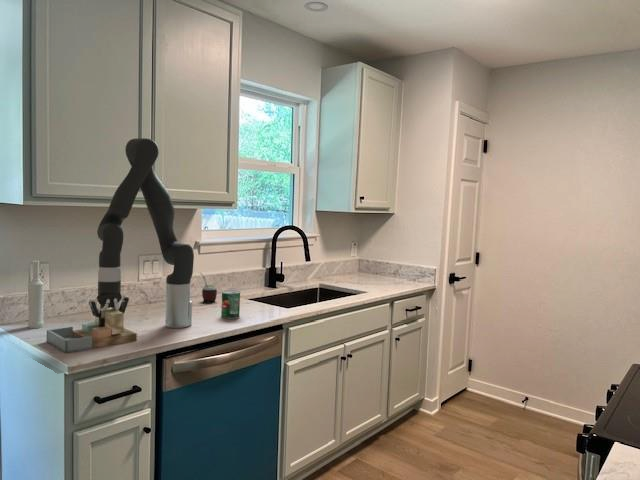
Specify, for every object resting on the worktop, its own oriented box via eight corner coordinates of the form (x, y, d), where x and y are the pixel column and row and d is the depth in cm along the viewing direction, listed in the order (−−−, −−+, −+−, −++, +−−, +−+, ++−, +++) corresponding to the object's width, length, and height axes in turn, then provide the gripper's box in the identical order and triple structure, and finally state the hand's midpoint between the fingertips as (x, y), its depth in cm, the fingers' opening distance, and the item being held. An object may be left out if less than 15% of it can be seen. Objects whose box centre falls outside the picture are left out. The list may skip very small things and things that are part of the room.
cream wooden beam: (105, 325, 183) (106, 306, 182) (123, 332, 173) (123, 313, 173) (94, 326, 180) (95, 307, 179) (112, 334, 170) (112, 314, 170)
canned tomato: (217, 317, 215) (218, 292, 214) (228, 313, 222) (229, 289, 221) (232, 319, 212) (232, 294, 211) (243, 316, 219) (243, 291, 218)
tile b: (105, 333, 173) (105, 326, 173) (111, 336, 170) (111, 329, 170) (92, 335, 170) (92, 328, 170) (97, 338, 167) (98, 331, 167)
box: (71, 337, 175) (71, 326, 175) (92, 348, 164) (92, 336, 164) (46, 341, 169) (46, 330, 169) (65, 353, 158) (65, 341, 158)
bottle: (46, 325, 190) (46, 260, 188) (39, 328, 185) (39, 262, 183) (32, 324, 190) (32, 260, 188) (25, 328, 185) (25, 261, 183)
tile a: (94, 328, 179) (95, 321, 179) (100, 331, 176) (100, 324, 176) (82, 330, 176) (82, 323, 176) (87, 333, 173) (87, 326, 173)
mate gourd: (218, 301, 249) (218, 271, 248) (214, 304, 241) (214, 273, 240) (203, 300, 249) (204, 270, 248) (198, 303, 241) (199, 272, 240)
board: (114, 330, 187) (114, 324, 187) (136, 340, 175) (136, 333, 175) (71, 337, 175) (71, 330, 175) (92, 348, 164) (92, 341, 164)
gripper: (124, 276, 183) (123, 322, 184) (84, 279, 172) (83, 328, 174) (133, 279, 178) (133, 326, 179) (93, 282, 167) (93, 332, 169)
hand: (108, 326), depth 176 cm, fingers closed on cream wooden beam, 4 cm apart
